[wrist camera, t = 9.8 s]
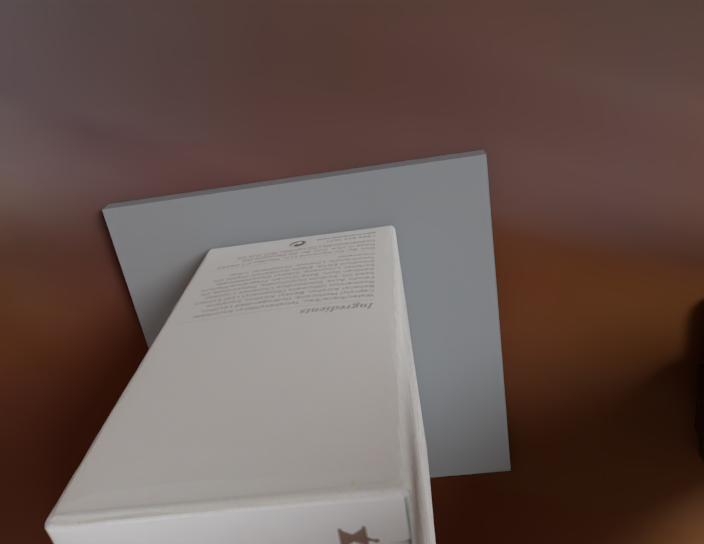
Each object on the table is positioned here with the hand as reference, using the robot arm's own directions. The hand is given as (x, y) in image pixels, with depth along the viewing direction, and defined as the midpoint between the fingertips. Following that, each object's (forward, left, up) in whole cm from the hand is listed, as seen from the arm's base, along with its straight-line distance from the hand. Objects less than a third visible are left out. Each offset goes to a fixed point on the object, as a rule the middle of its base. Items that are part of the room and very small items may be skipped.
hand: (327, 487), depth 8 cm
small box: (+2, +5, -12) cm, 13 cm away
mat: (+2, +5, -12) cm, 13 cm away
